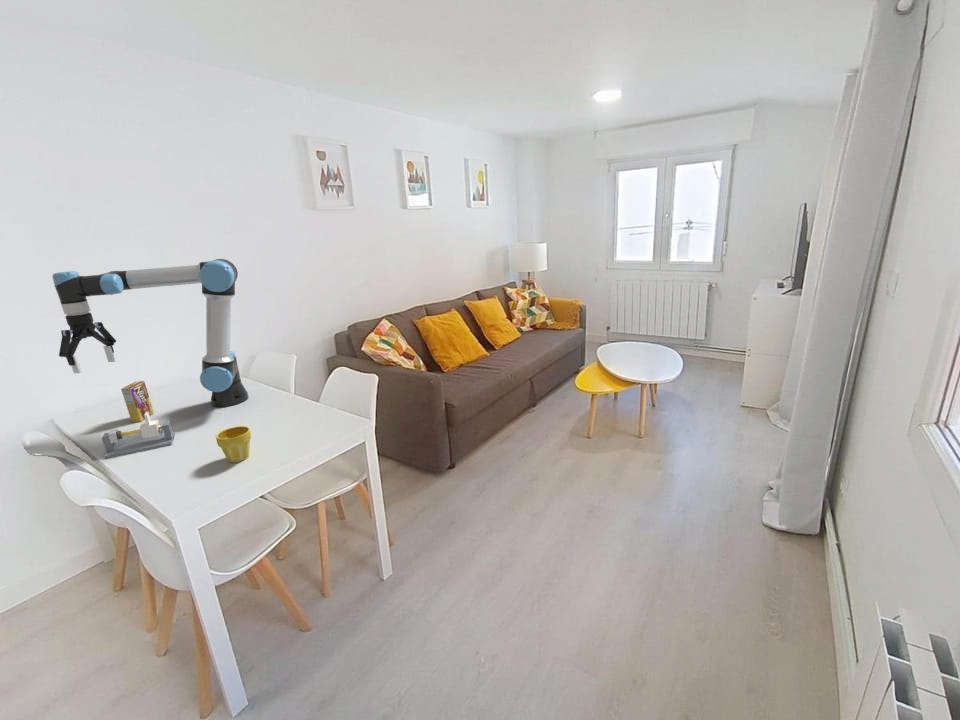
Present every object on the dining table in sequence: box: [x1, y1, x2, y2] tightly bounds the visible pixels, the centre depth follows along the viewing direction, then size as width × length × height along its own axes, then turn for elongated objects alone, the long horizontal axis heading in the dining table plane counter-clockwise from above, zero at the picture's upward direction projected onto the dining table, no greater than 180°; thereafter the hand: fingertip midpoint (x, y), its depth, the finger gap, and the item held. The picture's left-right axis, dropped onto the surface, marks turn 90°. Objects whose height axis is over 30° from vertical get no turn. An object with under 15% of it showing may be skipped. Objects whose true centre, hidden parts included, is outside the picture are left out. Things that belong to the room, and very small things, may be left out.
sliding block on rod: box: [101, 420, 176, 459], centre depth 168 cm, size 20×10×8 cm, turn 117°
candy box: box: [121, 380, 155, 423], centre depth 193 cm, size 9×4×15 cm, turn 2°
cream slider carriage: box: [139, 412, 162, 439], centre depth 168 cm, size 5×4×8 cm
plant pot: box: [215, 425, 252, 463], centre depth 156 cm, size 10×10×10 cm
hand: (95, 367), depth 177 cm, fingers open, 13 cm apart
